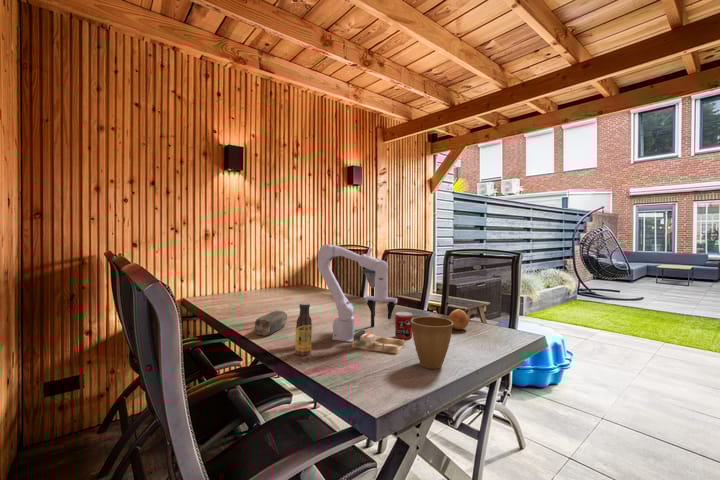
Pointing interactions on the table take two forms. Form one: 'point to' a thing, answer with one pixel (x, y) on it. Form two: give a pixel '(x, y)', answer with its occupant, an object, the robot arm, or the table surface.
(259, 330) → the stone block
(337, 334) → the robot arm
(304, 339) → the sauce bottle
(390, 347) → the track
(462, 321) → the onion
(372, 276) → the solar garden light
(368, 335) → the cream gift box
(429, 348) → the plant pot
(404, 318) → the canned food
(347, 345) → the table surface
